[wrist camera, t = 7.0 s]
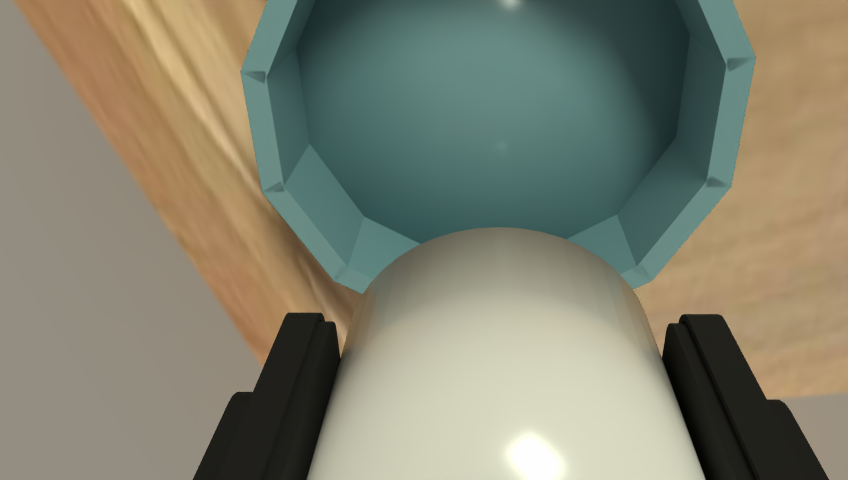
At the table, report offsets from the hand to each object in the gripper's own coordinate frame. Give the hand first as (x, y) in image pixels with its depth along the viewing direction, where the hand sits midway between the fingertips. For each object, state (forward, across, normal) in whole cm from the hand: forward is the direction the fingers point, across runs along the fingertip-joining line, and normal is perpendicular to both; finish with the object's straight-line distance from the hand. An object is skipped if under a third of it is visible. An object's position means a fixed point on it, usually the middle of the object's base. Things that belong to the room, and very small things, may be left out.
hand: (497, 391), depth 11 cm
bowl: (+17, 0, 0) cm, 17 cm away
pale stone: (+1, 0, 0) cm, 1 cm away
